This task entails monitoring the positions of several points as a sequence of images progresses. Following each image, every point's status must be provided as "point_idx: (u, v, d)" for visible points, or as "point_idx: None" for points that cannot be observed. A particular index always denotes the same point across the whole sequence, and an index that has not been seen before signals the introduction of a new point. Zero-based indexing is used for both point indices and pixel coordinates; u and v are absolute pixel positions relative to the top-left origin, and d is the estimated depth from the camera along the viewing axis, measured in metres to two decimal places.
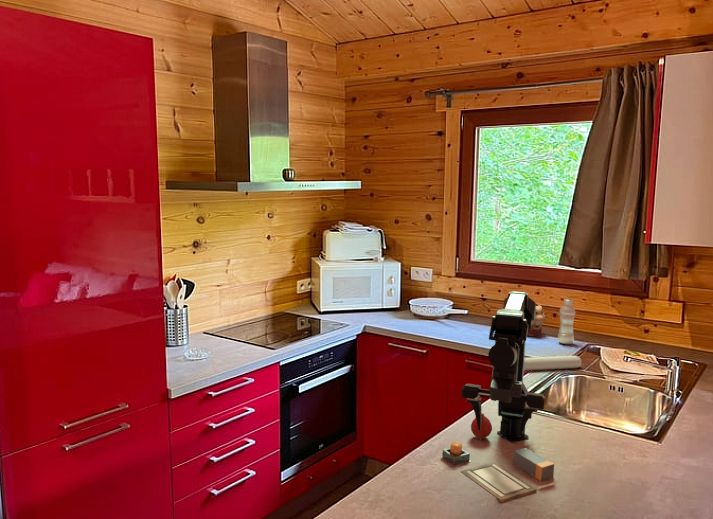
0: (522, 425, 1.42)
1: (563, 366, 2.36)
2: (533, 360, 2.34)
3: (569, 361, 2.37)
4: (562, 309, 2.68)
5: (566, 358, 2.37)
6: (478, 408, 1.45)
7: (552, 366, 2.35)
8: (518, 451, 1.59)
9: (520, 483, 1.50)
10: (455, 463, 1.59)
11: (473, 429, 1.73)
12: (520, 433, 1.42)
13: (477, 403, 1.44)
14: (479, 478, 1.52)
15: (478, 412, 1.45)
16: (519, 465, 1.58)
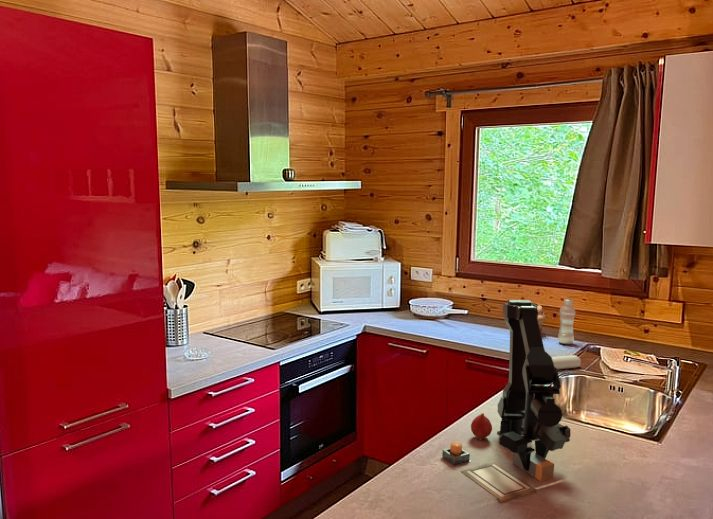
0: (544, 457, 1.57)
1: (564, 366, 2.36)
2: None
3: (569, 361, 2.37)
4: (562, 309, 2.68)
5: (566, 358, 2.37)
6: (530, 453, 1.53)
7: None
8: None
9: (520, 483, 1.50)
10: (455, 463, 1.59)
11: (473, 429, 1.73)
12: None
13: None
14: (479, 478, 1.52)
15: (529, 457, 1.54)
16: (519, 465, 1.58)
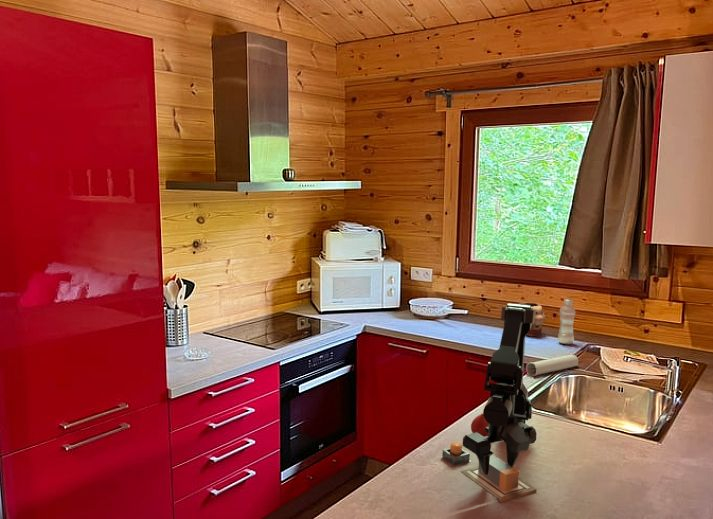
0: (515, 458, 1.52)
1: (565, 366, 2.36)
2: (542, 364, 2.30)
3: (570, 361, 2.37)
4: (562, 309, 2.68)
5: (567, 358, 2.37)
6: (489, 457, 1.47)
7: (557, 368, 2.33)
8: None
9: (520, 483, 1.50)
10: (455, 463, 1.59)
11: (473, 429, 1.73)
12: (512, 465, 1.52)
13: (491, 454, 1.46)
14: (479, 478, 1.52)
15: (488, 460, 1.47)
16: None
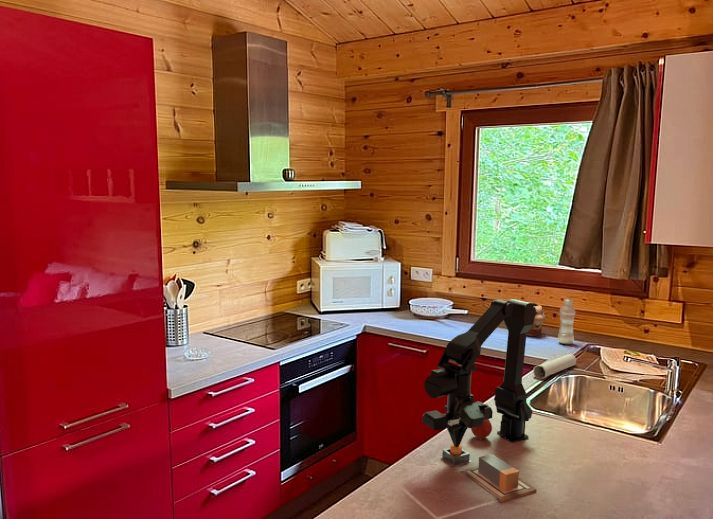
0: (461, 437, 1.60)
1: (567, 366, 2.36)
2: (549, 366, 2.28)
3: (570, 360, 2.38)
4: (562, 309, 2.68)
5: (567, 358, 2.37)
6: (458, 430, 1.59)
7: (561, 368, 2.33)
8: (483, 457, 1.54)
9: (520, 483, 1.50)
10: (455, 463, 1.59)
11: (473, 429, 1.73)
12: (459, 444, 1.61)
13: (460, 427, 1.58)
14: (479, 478, 1.52)
15: (458, 433, 1.59)
16: (484, 472, 1.53)
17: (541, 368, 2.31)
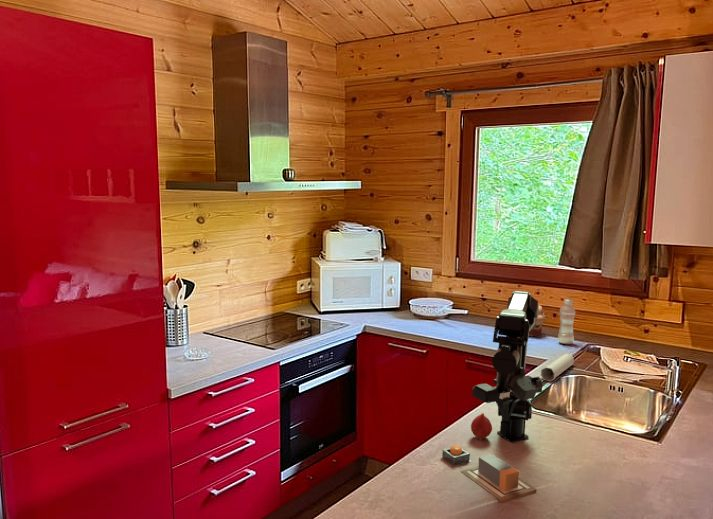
0: (511, 411, 1.58)
1: (568, 366, 2.36)
2: (555, 367, 2.26)
3: (570, 360, 2.38)
4: (562, 309, 2.68)
5: (567, 358, 2.38)
6: (508, 403, 1.56)
7: (564, 369, 2.32)
8: (483, 457, 1.54)
9: (520, 483, 1.50)
10: (455, 463, 1.59)
11: (473, 429, 1.73)
12: (508, 418, 1.58)
13: (511, 400, 1.55)
14: (479, 478, 1.52)
15: (508, 407, 1.57)
16: (484, 472, 1.53)
17: (546, 370, 2.30)
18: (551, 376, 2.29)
